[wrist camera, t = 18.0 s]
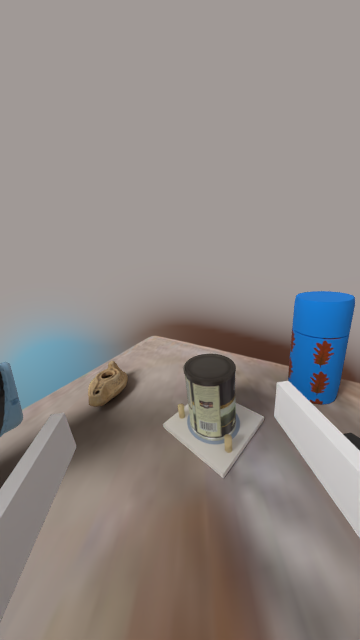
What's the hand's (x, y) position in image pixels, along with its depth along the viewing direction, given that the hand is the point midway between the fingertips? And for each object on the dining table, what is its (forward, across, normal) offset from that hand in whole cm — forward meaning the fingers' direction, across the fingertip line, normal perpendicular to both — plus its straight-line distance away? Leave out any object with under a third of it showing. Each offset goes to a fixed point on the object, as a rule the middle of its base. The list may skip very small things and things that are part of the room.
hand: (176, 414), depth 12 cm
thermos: (+29, +35, -28) cm, 54 cm away
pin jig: (+24, +8, -28) cm, 37 cm away
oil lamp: (+39, -19, -28) cm, 52 cm away
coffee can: (+24, +7, -27) cm, 36 cm away
